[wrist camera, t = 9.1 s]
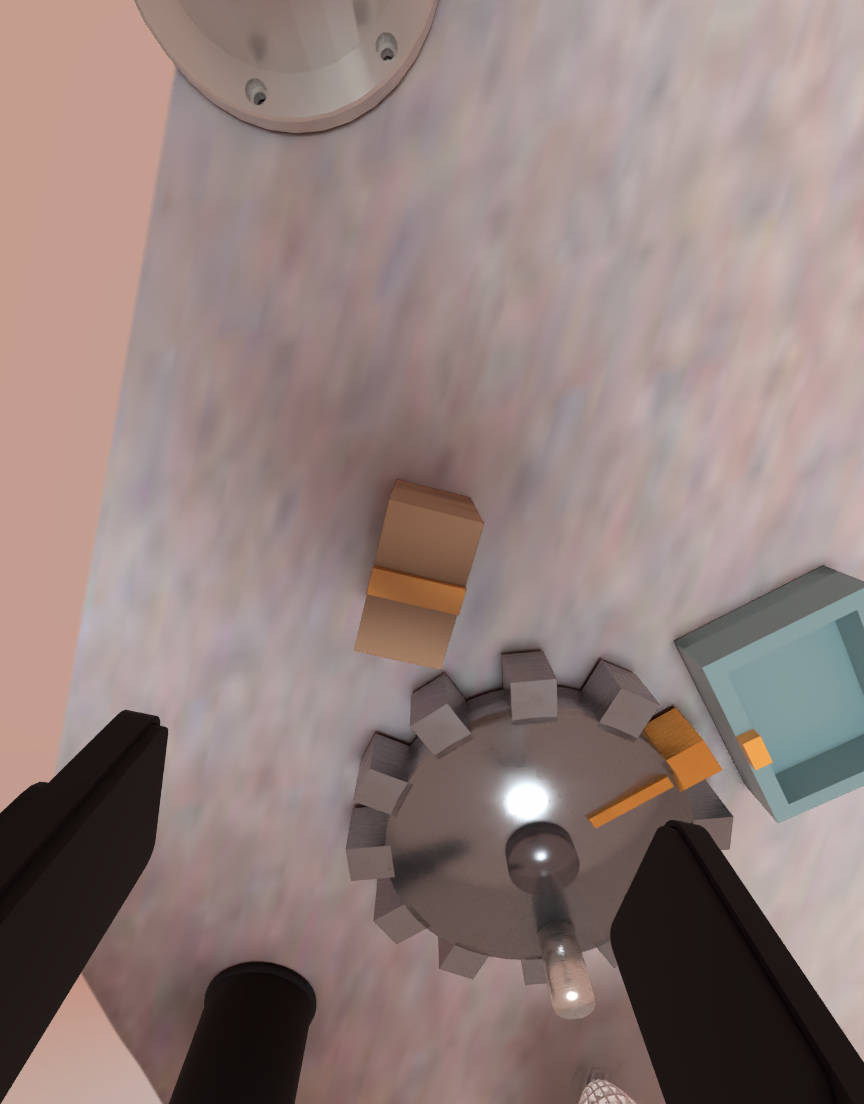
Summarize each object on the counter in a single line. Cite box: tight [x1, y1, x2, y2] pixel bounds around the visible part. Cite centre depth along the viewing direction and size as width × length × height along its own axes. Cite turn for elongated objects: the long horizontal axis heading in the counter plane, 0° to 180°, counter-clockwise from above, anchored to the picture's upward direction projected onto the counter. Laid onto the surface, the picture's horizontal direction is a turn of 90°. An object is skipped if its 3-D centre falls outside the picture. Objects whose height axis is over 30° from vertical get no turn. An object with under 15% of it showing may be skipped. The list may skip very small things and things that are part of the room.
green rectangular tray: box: [674, 566, 864, 823], centre depth 27 cm, size 12×9×4 cm
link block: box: [354, 479, 484, 670], centre depth 23 cm, size 7×4×6 cm, turn 165°
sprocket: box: [346, 651, 733, 1020], centre depth 28 cm, size 22×22×7 cm
